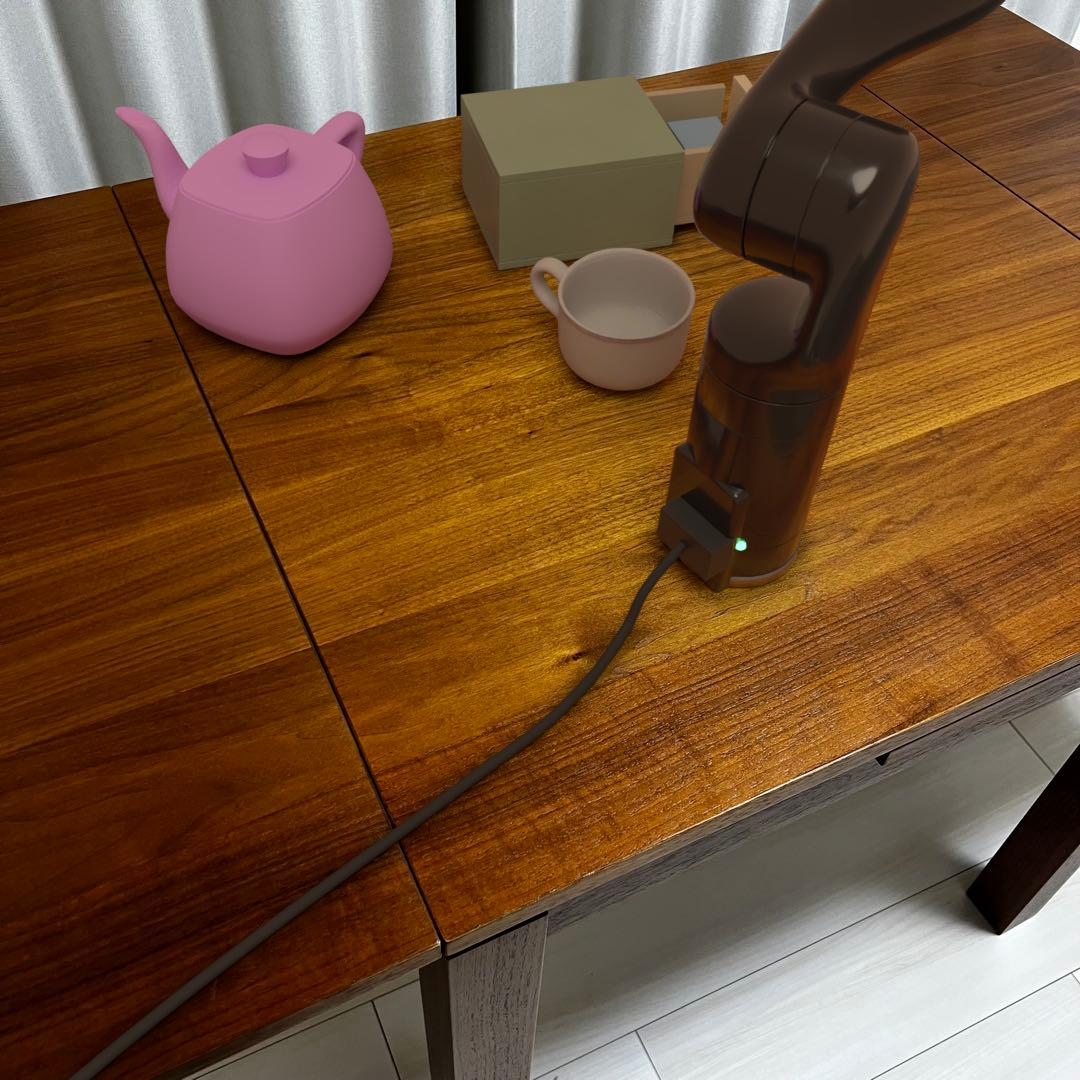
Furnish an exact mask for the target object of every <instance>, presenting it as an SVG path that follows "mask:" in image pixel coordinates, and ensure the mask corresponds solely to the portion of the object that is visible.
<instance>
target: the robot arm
mask: <svg viewBox="0 0 1080 1080" xmlns="http://www.w3.org/2000/svg"><path fill="white" fill-rule="evenodd" d="M1006 1H1007V0H820V1H819V2H818V3H817V5H816V6H815V8H814V9H813V10H812V11H811V12H810V13H809V15H808V16H807V17H806V18H805V20H804V21H803V22H802V23H801V24H800V26H799V27H798V28H797V29H796V31H794V33H793V34H792V36H791V37H790V38H789V39H788V40H787V42H786V43H785V44H784V45H783V47H782V48H781V49H780V50H779V52H778V53H777V54H776V56H775V57H774V58H773V59H772V61H770V63H769V64H768V65H767V66H766V68H765V69H764V70H763V71H762V72H761V74H760V75H759V77H758V78H757V79H756V80H755V81H754V83H752V84H753V85H752V87H751V88H750V89H749V90H748V92H747V93H746V94H745V96H744V97H743V98H742V100H741V101H740V102H739V104H738V105H737V106H736V108H735V109H734V111H733V112H732V114H731V115H730V117H729V118H728V120H727V121H726V120H725V122H724V124H723V128H722V129H721V131H720V133H719V134H718V136H717V138H716V140H715V141H714V143H713V145H712V147H711V149H710V151H709V153H708V155H707V158H706V160H705V162H704V165H703V167H702V170H701V172H700V175H699V178H698V181H697V185H696V189H695V193H694V199H693V218H694V226H695V228H696V229H697V230H696V231H698V233H699V234H700V235H701V237H702V238H703V239H704V240H705V241H707V242H708V243H710V244H712V245H713V246H715V247H716V248H718V249H720V250H722V251H725V252H726V253H729V254H731V255H733V256H735V257H738V258H740V259H742V260H745V261H747V262H750V263H752V264H755V265H758V266H760V267H762V268H764V269H768V270H770V271H772V272H774V273H777V274H779V275H771V276H763V277H756V278H752V279H749V280H748V279H747V280H746V281H743V282H741V283H738V284H735V285H734V286H732V287H731V288H729V289H728V290H726V291H725V292H724V293H722V295H721V296H719V298H717V300H716V301H715V303H714V305H713V307H712V308H711V310H710V311H709V315H708V318H707V323H706V327H705V331H704V339H703V344H702V345H703V346H702V352H701V356H700V363H699V369H698V374H697V378H696V383H695V390H694V396H693V401H692V406H691V411H690V418H689V423H688V427H687V428H688V429H687V435H686V440H685V442H683V443H680V444H679V445H677V446H675V449H674V451H673V458H672V464H671V470H670V475H669V481H668V486H667V487H668V488H667V493H666V500H665V504H664V505H662V506H661V507H660V511H659V517H658V523H657V528H656V537H658V538H659V541H660V542H661V543H662V544H663V545H664V546H665V547H666V548H667V549H668V550H669V551H668V553H667V554H666V555H665V556H664V557H663V558H662V559H661V561H660V562H659V563H658V564H657V565H656V567H654V568H653V570H652V571H651V573H649V574H648V576H647V578H645V580H644V582H643V583H642V584H641V586H640V587H639V589H638V591H637V593H636V594H635V596H634V598H633V600H632V602H631V605H630V607H629V609H628V611H627V614H626V616H625V619H624V620H623V622H622V624H621V626H620V627H619V629H618V630H617V632H616V633H615V635H614V637H613V638H612V640H611V641H610V643H609V645H608V646H607V647H606V649H605V650H604V652H603V653H602V654H601V656H600V657H599V659H598V660H597V661H596V662H595V664H594V665H593V667H592V668H591V669H590V670H589V672H588V673H587V674H586V675H585V676H584V677H583V678H582V679H581V681H579V683H577V685H575V687H573V689H572V690H571V691H570V692H569V693H568V694H567V695H566V696H565V697H564V698H563V699H562V700H561V701H560V702H559V703H558V704H557V705H556V706H555V707H554V708H553V709H552V710H551V711H549V712H548V713H547V714H546V715H545V716H544V717H543V718H542V719H540V720H539V721H538V722H537V723H536V724H535V725H533V726H532V727H530V728H529V729H528V730H526V731H525V732H524V733H522V734H521V735H520V736H518V737H517V738H516V739H514V740H513V741H512V742H510V743H509V744H507V745H506V746H504V747H503V748H502V749H501V750H499V751H498V752H497V753H495V754H493V755H492V756H490V757H489V758H488V759H487V760H485V761H484V762H482V763H481V764H479V765H478V766H477V767H475V768H474V769H472V770H471V772H469V773H467V774H466V775H465V776H464V777H462V778H461V779H459V780H458V781H457V782H456V783H454V784H453V785H451V786H450V787H449V788H447V789H446V790H445V791H443V792H442V793H440V795H437V796H436V797H435V798H434V799H433V800H431V801H430V802H429V803H427V804H425V805H424V806H423V807H422V808H420V809H419V810H417V811H416V812H415V813H413V814H412V815H411V816H409V817H408V818H407V819H405V820H404V821H402V822H401V823H400V824H398V825H397V826H396V827H394V828H393V829H391V830H390V831H389V832H387V833H386V834H385V835H383V836H382V837H381V838H379V839H377V841H374V842H373V844H370V845H369V846H368V847H367V848H366V849H364V850H363V851H362V852H360V853H358V854H357V855H356V856H354V857H353V858H352V859H350V860H349V861H347V863H344V865H342V866H341V867H339V868H338V869H337V870H336V871H334V872H333V873H331V874H330V875H329V876H327V877H326V878H324V879H323V880H321V881H320V882H319V883H317V884H316V885H315V886H314V887H312V888H311V889H310V890H308V891H306V892H305V893H304V894H303V895H301V896H300V897H298V898H297V899H296V900H294V901H293V902H291V904H289V905H288V906H286V907H285V908H284V909H282V910H281V911H280V912H278V913H277V914H275V915H274V916H273V917H272V918H270V919H269V920H268V921H266V922H265V923H263V924H262V925H261V926H259V927H258V928H257V929H256V930H254V931H253V932H252V933H250V934H249V935H248V936H246V938H244V939H243V940H241V941H240V942H239V943H237V944H236V945H234V946H233V947H231V948H230V949H229V950H228V951H226V952H225V953H224V954H223V955H221V956H220V957H219V958H217V959H216V960H215V961H213V962H212V963H211V964H209V965H208V966H207V967H206V968H205V969H203V970H202V971H201V972H199V973H198V974H196V975H195V976H194V977H193V978H191V979H190V980H189V981H188V982H186V983H185V984H183V986H181V987H179V989H177V990H176V991H175V992H173V993H172V994H171V995H170V996H168V997H167V998H166V999H165V1000H163V1001H162V1002H161V1003H160V1004H158V1005H157V1006H156V1007H155V1008H154V1009H152V1010H151V1011H150V1012H148V1013H147V1014H146V1015H145V1016H144V1017H142V1018H141V1019H139V1020H138V1021H137V1022H136V1023H135V1024H133V1025H132V1026H131V1027H130V1028H128V1029H127V1030H126V1031H125V1032H124V1033H123V1034H121V1035H120V1036H119V1037H118V1038H116V1039H115V1040H114V1041H113V1042H112V1043H110V1044H109V1045H108V1046H107V1047H105V1048H104V1049H103V1050H102V1051H101V1052H99V1053H98V1054H97V1055H95V1056H94V1057H93V1058H92V1059H91V1060H90V1061H89V1062H87V1063H86V1064H84V1066H82V1067H81V1068H80V1069H79V1070H78V1071H76V1072H75V1073H74V1074H73V1075H72V1076H70V1077H69V1078H68V1079H67V1080H91V1079H93V1078H94V1077H95V1076H96V1075H98V1074H99V1073H100V1072H101V1071H102V1070H104V1069H105V1068H106V1067H107V1066H108V1065H109V1064H111V1063H112V1062H113V1061H114V1060H115V1059H117V1058H118V1057H119V1056H120V1055H122V1054H123V1053H124V1052H125V1051H126V1050H128V1049H129V1048H130V1047H131V1046H133V1045H134V1044H135V1043H136V1042H137V1041H138V1040H140V1039H141V1038H142V1037H144V1035H146V1034H147V1033H148V1032H149V1031H151V1030H152V1029H153V1028H154V1027H155V1026H157V1025H158V1024H159V1023H160V1022H162V1021H163V1020H164V1019H166V1018H167V1017H168V1016H169V1015H171V1013H173V1012H175V1010H177V1009H178V1008H179V1007H180V1006H182V1005H183V1004H184V1003H185V1002H187V1001H188V1000H189V999H191V998H192V997H193V996H194V995H196V994H197V993H198V992H199V991H201V990H202V989H204V988H205V987H206V986H207V985H208V984H210V983H211V982H212V981H213V980H215V979H216V978H217V977H219V976H220V975H221V974H223V972H225V971H226V970H228V969H229V968H231V966H233V965H234V964H235V963H237V962H238V961H239V960H240V959H242V958H243V957H245V956H246V955H247V954H249V953H250V952H252V950H254V949H255V948H256V947H258V946H259V945H261V944H262V943H263V942H264V941H265V940H267V939H268V938H269V937H271V936H272V935H274V934H275V933H277V931H279V930H280V929H281V928H283V927H284V926H285V925H287V924H288V923H289V922H291V921H292V920H293V919H295V918H296V917H297V916H299V915H300V914H301V913H302V912H304V911H305V910H307V909H308V908H309V907H311V906H313V905H314V904H315V903H317V901H319V900H320V899H322V898H323V897H324V896H326V895H327V894H328V893H329V892H331V891H333V890H334V889H335V888H337V887H338V886H339V885H341V884H342V883H343V882H345V881H346V880H348V879H349V878H350V877H351V876H353V875H354V874H355V873H357V872H358V871H359V870H361V869H362V868H364V867H365V866H367V864H369V863H370V862H372V861H373V860H374V859H376V858H377V857H379V856H380V855H381V854H382V853H384V852H385V851H387V850H388V849H389V848H390V847H392V846H394V845H395V844H396V843H397V842H399V841H400V840H401V839H403V838H404V837H405V836H407V835H408V834H410V833H411V832H412V831H413V830H415V829H417V828H418V827H419V826H421V825H422V824H423V823H425V822H426V821H427V820H428V819H430V818H431V817H432V816H434V815H435V814H437V813H438V812H440V811H441V810H443V809H444V808H445V807H446V806H448V805H449V804H450V803H451V802H453V801H454V800H455V799H457V798H458V797H460V796H461V795H462V794H464V793H465V792H467V791H468V790H469V789H470V788H471V787H473V786H474V785H475V784H477V783H478V782H479V781H481V780H482V779H483V778H485V777H486V776H487V775H489V774H490V773H491V772H493V771H494V770H496V769H497V768H498V767H500V766H501V765H502V764H504V763H505V762H507V761H508V760H510V759H511V758H512V757H514V756H515V755H516V754H518V753H520V751H522V750H523V749H525V748H526V747H527V746H529V745H530V744H531V743H533V742H534V741H535V740H537V739H538V738H539V737H540V736H542V735H543V734H544V733H545V732H546V731H548V730H549V729H550V728H551V727H553V725H554V724H555V723H557V722H558V721H559V720H560V719H561V718H562V717H563V716H564V715H565V714H567V712H568V711H570V710H571V708H572V707H574V706H575V704H576V703H577V702H578V701H579V700H580V699H581V698H582V697H583V696H584V695H585V694H586V693H587V692H588V691H589V690H590V688H592V686H593V685H594V684H595V683H596V682H597V681H598V679H599V678H600V677H601V675H602V674H603V673H604V671H605V670H606V669H607V668H608V667H609V665H610V663H611V662H612V661H613V659H614V658H615V656H616V655H617V653H618V652H619V650H620V648H621V647H622V645H623V644H624V643H625V641H626V639H627V638H628V636H629V635H630V633H631V631H632V630H633V628H634V626H635V624H636V622H637V619H638V617H639V615H640V612H641V610H642V608H643V606H644V604H645V602H646V600H647V598H648V597H649V595H650V593H651V592H652V590H653V589H654V587H655V586H656V585H657V584H658V582H659V581H660V580H661V578H662V577H663V576H664V575H665V573H666V572H667V571H669V569H670V568H671V567H672V566H673V565H674V563H675V562H676V561H677V560H678V559H679V561H680V562H681V563H682V564H683V565H684V566H685V567H686V568H688V569H689V570H690V571H691V572H693V573H694V574H695V575H696V576H697V577H698V578H699V579H700V580H701V581H702V582H703V583H704V584H706V585H707V586H708V587H709V588H710V589H711V590H712V591H713V592H715V593H718V592H721V591H723V590H724V589H725V588H728V587H734V588H752V587H759V586H762V585H765V584H769V583H772V582H773V581H776V580H777V579H779V578H781V577H782V576H784V575H785V574H786V573H787V572H788V571H789V570H790V569H792V566H793V565H794V563H795V562H796V559H797V556H798V554H799V551H800V547H801V544H802V536H803V532H804V529H805V526H806V522H807V521H808V517H809V516H808V515H809V513H810V510H811V505H812V502H813V499H814V496H815V493H816V489H817V486H818V483H819V480H820V477H821V473H822V470H823V467H824V463H825V460H826V457H827V453H828V450H829V446H830V444H831V440H832V437H833V433H834V430H835V427H836V424H837V420H838V418H839V414H840V411H841V409H842V405H843V401H844V399H845V395H846V392H847V388H848V386H849V383H850V378H851V375H852V374H853V373H852V372H853V369H854V365H855V363H856V359H857V357H858V353H859V350H860V347H861V345H862V342H863V338H864V336H865V332H866V330H867V327H868V325H869V321H870V318H871V316H872V312H873V309H874V306H875V303H876V300H877V298H878V294H879V291H880V288H881V285H882V283H883V279H884V277H885V274H886V271H887V268H888V266H889V263H890V261H891V258H892V256H893V253H894V251H895V248H896V245H897V243H898V240H899V237H900V235H901V232H902V231H903V228H904V225H905V222H906V220H907V217H908V214H909V211H910V209H911V206H912V202H913V199H914V197H915V193H916V190H917V186H918V181H919V177H920V171H921V160H922V157H921V147H920V144H919V141H918V139H917V137H916V135H915V134H914V133H913V132H912V131H910V130H909V129H907V128H905V127H903V126H901V125H899V124H896V123H893V122H891V121H887V120H884V119H882V118H880V117H879V118H878V117H876V116H874V115H870V114H867V113H865V112H862V111H859V110H856V109H853V108H850V107H847V106H844V105H841V103H842V102H843V101H844V100H845V99H847V98H848V97H849V96H850V95H851V94H852V93H854V92H855V91H856V90H857V89H858V88H859V87H862V86H863V84H865V83H867V82H868V81H869V80H871V79H873V78H874V77H876V76H878V75H879V74H882V73H883V72H885V71H887V70H889V69H891V68H893V67H896V66H897V65H899V64H901V63H903V62H906V61H908V60H910V59H912V58H914V57H916V56H919V55H921V54H924V53H926V52H928V51H930V50H932V49H934V48H936V47H938V46H941V45H942V44H944V43H946V42H948V41H950V40H952V39H954V38H956V37H959V36H960V35H962V34H964V32H967V31H968V30H970V29H971V28H974V27H975V26H977V25H978V24H979V23H981V22H983V21H984V20H985V19H987V18H988V17H990V16H991V15H992V14H994V13H995V11H996V10H998V9H999V8H1000V7H1001V6H1002V5H1003V4H1004V3H1005V2H1006Z"/></svg>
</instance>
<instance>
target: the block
mask: <svg viewBox="0 0 1080 1080" xmlns="http://www.w3.org/2000/svg"><path fill="white" fill-rule="evenodd" d="M667 126H668V127H669V129H670V130H671V132H672V133H673V135H674V136H675V138H676V139H677V141H678V142H679V144H680V145H681V147H682V148H683V150H686V149H694V148H702V147H709V146H712V145H713V143H714V141H715V140H716V138H717V136H718V134H719V133H720V131H721V129H722V128H723V126H724V124H723V123H722V121H720V120H719V119H718V118H717V116H713V117H705V118H698V119H690V120H682V121H674V122H667Z"/></svg>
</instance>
